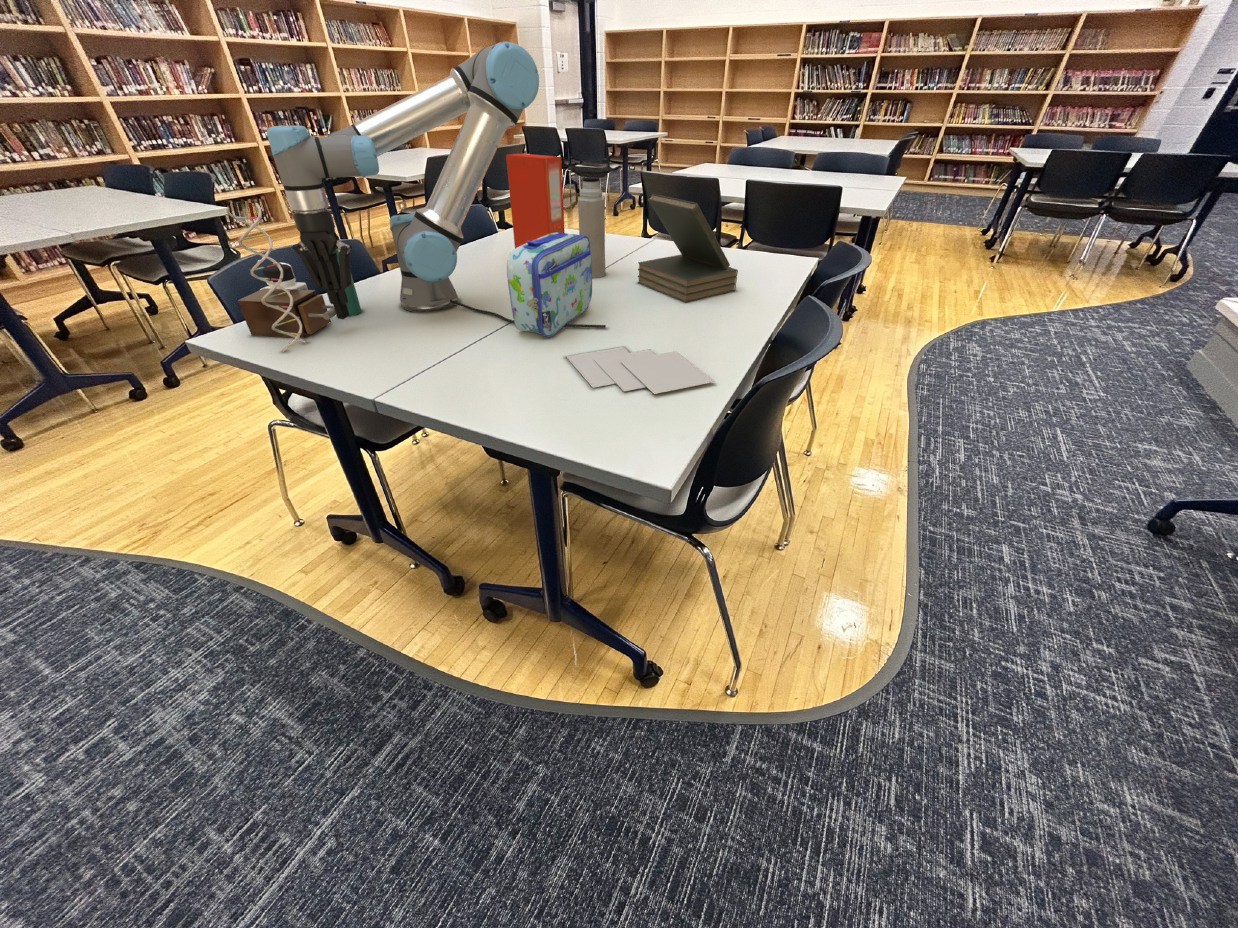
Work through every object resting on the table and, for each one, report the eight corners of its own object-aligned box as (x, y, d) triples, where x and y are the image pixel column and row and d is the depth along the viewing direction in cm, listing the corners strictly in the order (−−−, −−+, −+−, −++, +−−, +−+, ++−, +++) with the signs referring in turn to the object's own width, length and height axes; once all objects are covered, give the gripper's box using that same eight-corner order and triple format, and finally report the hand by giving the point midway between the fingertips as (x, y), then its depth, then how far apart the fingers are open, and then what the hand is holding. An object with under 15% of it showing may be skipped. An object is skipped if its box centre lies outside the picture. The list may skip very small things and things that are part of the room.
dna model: (290, 355, 119) (234, 208, 101) (273, 349, 121) (215, 205, 104) (317, 345, 123) (268, 203, 106) (299, 339, 126) (249, 200, 109)
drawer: (351, 322, 133) (343, 295, 129) (333, 335, 126) (324, 307, 122) (284, 319, 134) (274, 293, 131) (263, 332, 128) (251, 304, 124)
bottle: (365, 309, 144) (344, 235, 133) (355, 316, 139) (333, 239, 128) (347, 309, 144) (325, 234, 133) (336, 315, 140) (313, 239, 129)
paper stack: (609, 406, 99) (609, 403, 99) (565, 356, 118) (565, 353, 118) (715, 384, 107) (716, 381, 107) (659, 340, 126) (659, 338, 125)
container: (296, 321, 136) (277, 269, 129) (270, 319, 137) (250, 267, 130) (316, 311, 142) (299, 261, 135) (290, 309, 143) (273, 259, 136)
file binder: (532, 254, 194) (523, 153, 176) (566, 262, 185) (561, 156, 167) (515, 258, 189) (505, 155, 171) (549, 266, 180) (542, 158, 162)
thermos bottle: (575, 275, 171) (571, 177, 155) (591, 270, 177) (588, 175, 161) (595, 279, 168) (592, 180, 152) (610, 273, 173) (609, 177, 157)
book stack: (735, 291, 158) (747, 198, 144) (685, 302, 149) (692, 205, 135) (685, 273, 174) (691, 188, 159) (637, 283, 165) (639, 193, 150)
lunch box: (546, 344, 124) (538, 250, 112) (508, 336, 128) (497, 245, 116) (598, 310, 143) (596, 227, 131) (564, 305, 147) (559, 223, 135)
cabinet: (326, 324, 135) (315, 290, 130) (304, 338, 127) (291, 302, 122) (276, 322, 136) (263, 288, 131) (251, 336, 128) (236, 300, 123)
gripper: (348, 208, 117) (376, 313, 130) (293, 207, 118) (327, 311, 131) (329, 214, 111) (361, 323, 124) (271, 213, 112) (309, 321, 125)
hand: (343, 317), depth 128 cm, fingers closed
